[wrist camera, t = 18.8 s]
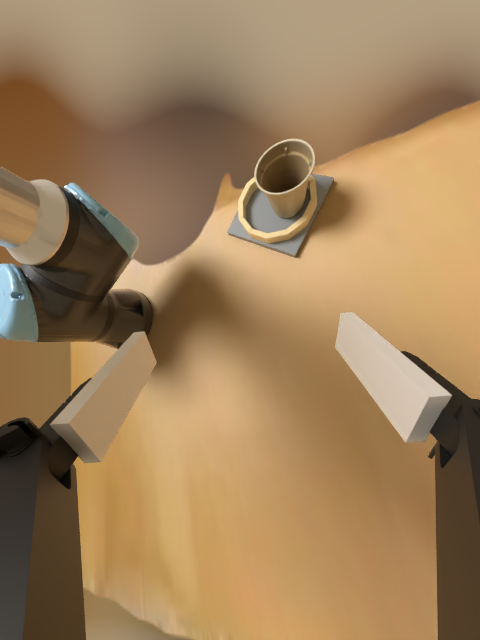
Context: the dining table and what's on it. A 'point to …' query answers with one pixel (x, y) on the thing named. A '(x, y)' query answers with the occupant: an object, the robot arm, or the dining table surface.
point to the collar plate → (277, 217)
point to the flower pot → (285, 175)
